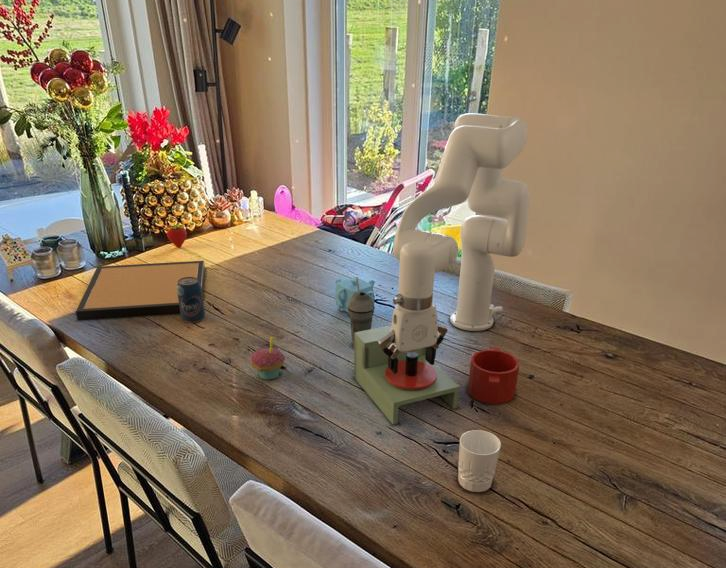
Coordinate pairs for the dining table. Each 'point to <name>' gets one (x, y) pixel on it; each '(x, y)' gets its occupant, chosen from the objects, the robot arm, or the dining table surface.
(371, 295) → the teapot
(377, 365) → the green step stand
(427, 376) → the lid
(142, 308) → the cork board
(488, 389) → the pot
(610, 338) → the dining table surface
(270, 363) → the cupcake
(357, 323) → the beverage cup
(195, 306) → the soda can
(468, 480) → the white cup
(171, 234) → the strawberry
